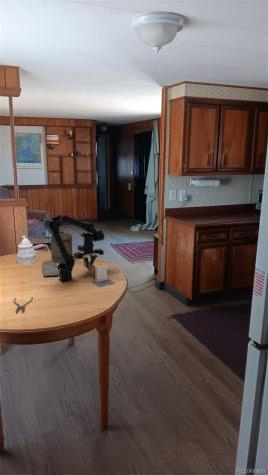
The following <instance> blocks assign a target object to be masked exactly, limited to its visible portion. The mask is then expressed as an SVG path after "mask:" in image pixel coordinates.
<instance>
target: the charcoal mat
mask: <svg viewBox="0 0 268 475" xmlns="http://www.w3.org/2000/svg"><path fill="white" fill-rule="evenodd" d="M90 283H91V284H93V285H95V286H96V287H98V288H103V287H107V286H112V285H115V284H116V283H115V282H114V281H112V280H111V279H108V278H107V280H105V281H100V282H96V281H95V280H92V281H90Z"/></svg>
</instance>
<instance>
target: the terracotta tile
mask: <svg viewBox="0 0 268 475" xmlns="http://www.w3.org/2000/svg"><path fill="white" fill-rule="evenodd" d="M94 279H95V280H94V281H96V282H100V281H105V280H107V279H108V265H106V264H103V265H98V266H95V278H94Z"/></svg>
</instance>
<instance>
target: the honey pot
mask: <svg viewBox="0 0 268 475" xmlns="http://www.w3.org/2000/svg"><path fill="white" fill-rule="evenodd" d="M26 237H27V236H26V235H22V236H21V238H22V240H21V242H20V243H19V244H18V245H17V247H18V250H17V254H16V259H17V264H20V265H31V264H34V263H36V262H37V253H36V251H35V249H34V247H33V243H31V241H30V240H29V239H28V238H26Z"/></svg>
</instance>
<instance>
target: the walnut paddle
mask: <svg viewBox="0 0 268 475" xmlns="http://www.w3.org/2000/svg"><path fill="white" fill-rule="evenodd" d="M83 266H84V268H85V269H87V270H88V271H89V273H91V274H92V278H93V279H95V267H96V266H95V265H94V264H93V265H92V264H91V263H90V261H89V260H88V267H86V264H85V262H84V261H83Z"/></svg>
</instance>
